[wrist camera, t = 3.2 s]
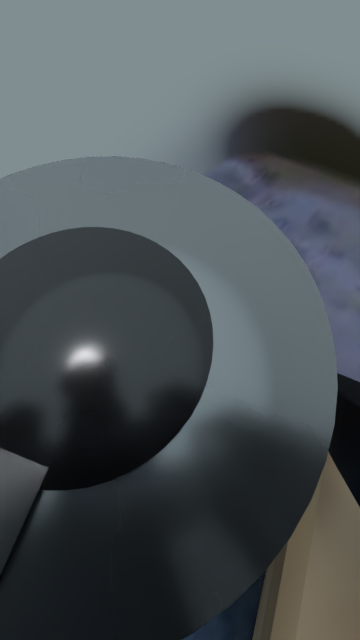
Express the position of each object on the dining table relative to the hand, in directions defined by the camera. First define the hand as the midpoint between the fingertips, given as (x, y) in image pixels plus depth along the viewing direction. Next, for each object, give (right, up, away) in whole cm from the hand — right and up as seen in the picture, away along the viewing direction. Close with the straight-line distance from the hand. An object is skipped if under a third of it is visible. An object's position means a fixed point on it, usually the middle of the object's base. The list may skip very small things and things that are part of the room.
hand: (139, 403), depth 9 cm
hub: (0, -3, +7) cm, 8 cm away
